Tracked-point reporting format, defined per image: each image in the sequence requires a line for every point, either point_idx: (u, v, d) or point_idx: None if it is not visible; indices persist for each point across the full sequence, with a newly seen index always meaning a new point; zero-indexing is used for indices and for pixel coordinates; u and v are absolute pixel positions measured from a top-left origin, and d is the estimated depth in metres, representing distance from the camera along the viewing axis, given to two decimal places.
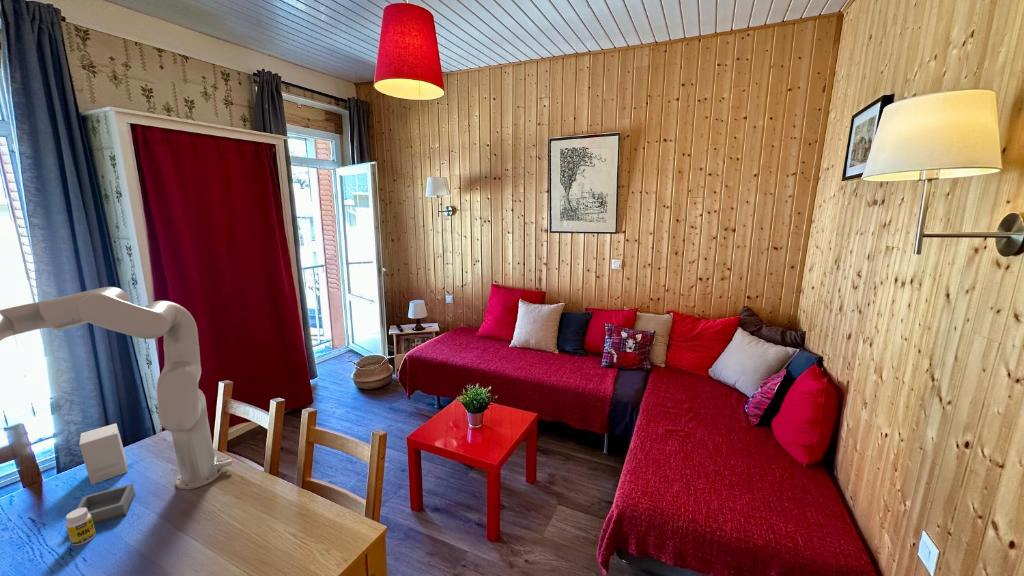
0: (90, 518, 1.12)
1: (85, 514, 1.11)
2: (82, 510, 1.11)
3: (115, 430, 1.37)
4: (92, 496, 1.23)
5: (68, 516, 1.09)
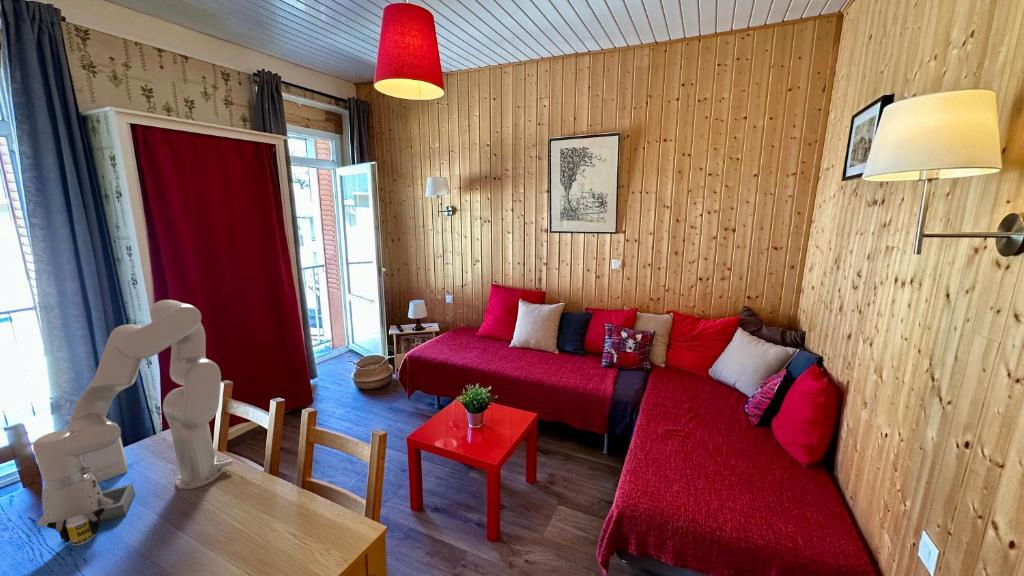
0: None
1: (85, 514, 1.11)
2: None
3: None
4: None
5: None
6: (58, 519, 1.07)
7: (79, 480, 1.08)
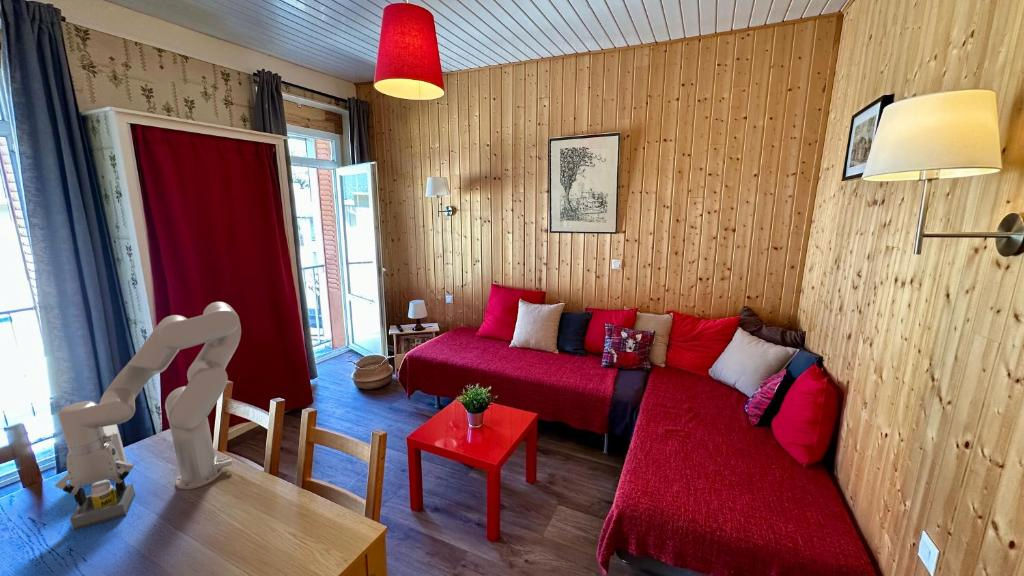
0: (112, 489, 1.21)
1: (108, 485, 1.20)
2: (105, 482, 1.21)
3: (115, 430, 1.37)
4: None
5: (93, 487, 1.19)
6: (81, 483, 1.16)
7: (100, 447, 1.16)
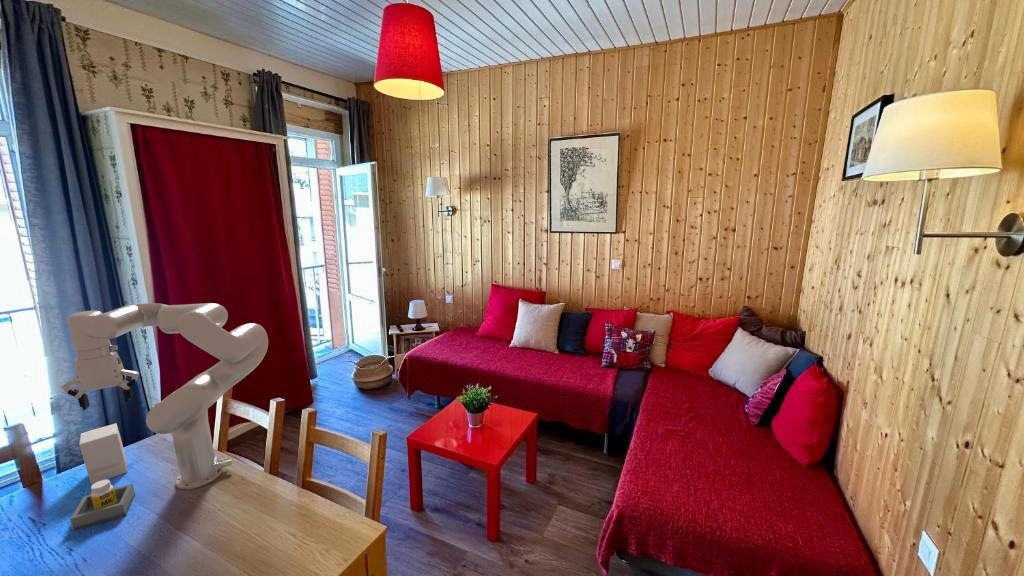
0: (112, 489, 1.21)
1: (108, 485, 1.20)
2: (105, 482, 1.21)
3: (115, 430, 1.37)
4: None
5: (93, 487, 1.19)
6: (88, 388, 1.23)
7: (106, 354, 1.23)
